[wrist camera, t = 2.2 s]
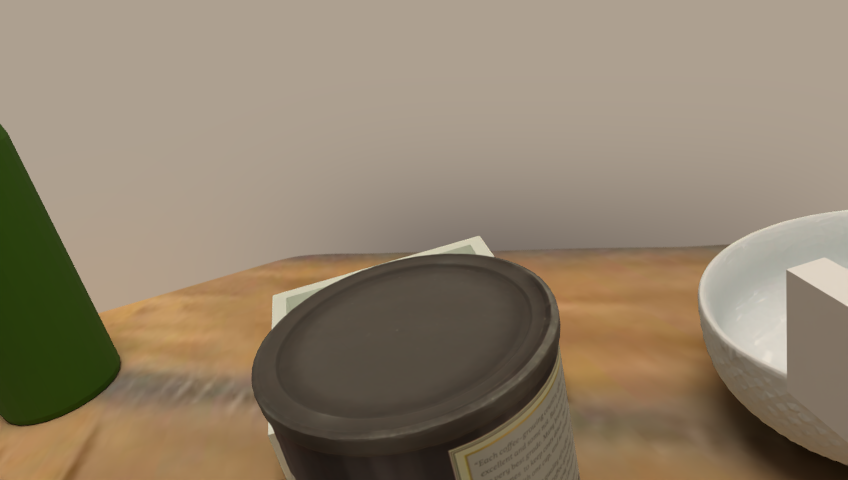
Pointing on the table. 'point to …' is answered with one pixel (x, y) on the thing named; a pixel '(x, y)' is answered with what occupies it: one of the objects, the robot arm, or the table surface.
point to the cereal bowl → (768, 321)
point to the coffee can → (421, 376)
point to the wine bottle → (43, 311)
